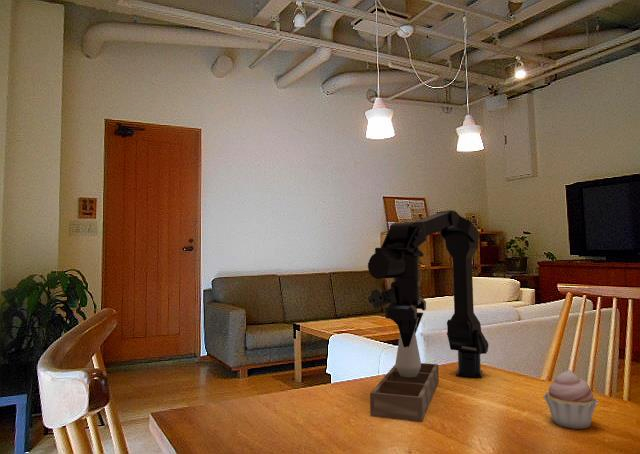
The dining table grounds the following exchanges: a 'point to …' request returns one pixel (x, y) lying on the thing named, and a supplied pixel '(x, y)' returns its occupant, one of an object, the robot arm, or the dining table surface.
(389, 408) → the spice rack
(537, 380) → the dining table surface
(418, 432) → the dining table surface
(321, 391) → the dining table surface
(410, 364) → the salt shaker
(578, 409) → the cupcake
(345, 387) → the dining table surface
